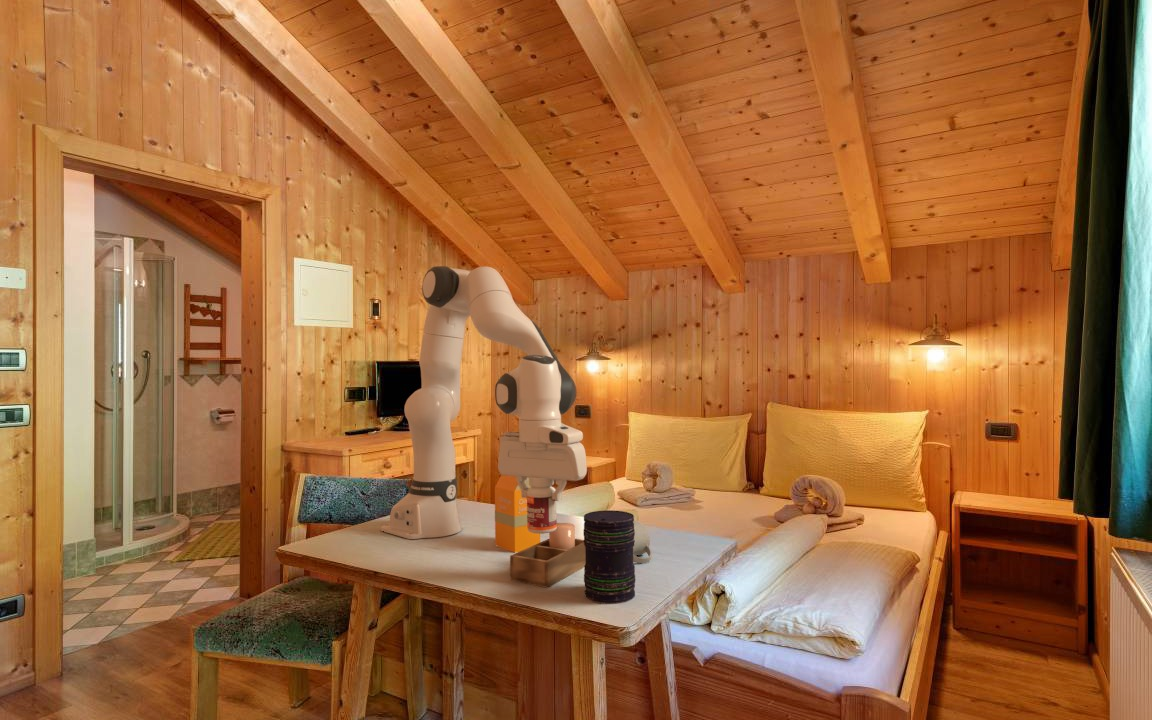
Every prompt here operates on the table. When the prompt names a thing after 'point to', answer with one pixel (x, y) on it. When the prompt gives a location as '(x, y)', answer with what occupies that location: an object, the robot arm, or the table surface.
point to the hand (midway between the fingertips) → (541, 499)
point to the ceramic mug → (641, 543)
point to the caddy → (546, 563)
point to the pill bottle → (541, 506)
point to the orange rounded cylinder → (563, 536)
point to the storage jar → (609, 556)
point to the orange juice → (512, 516)
